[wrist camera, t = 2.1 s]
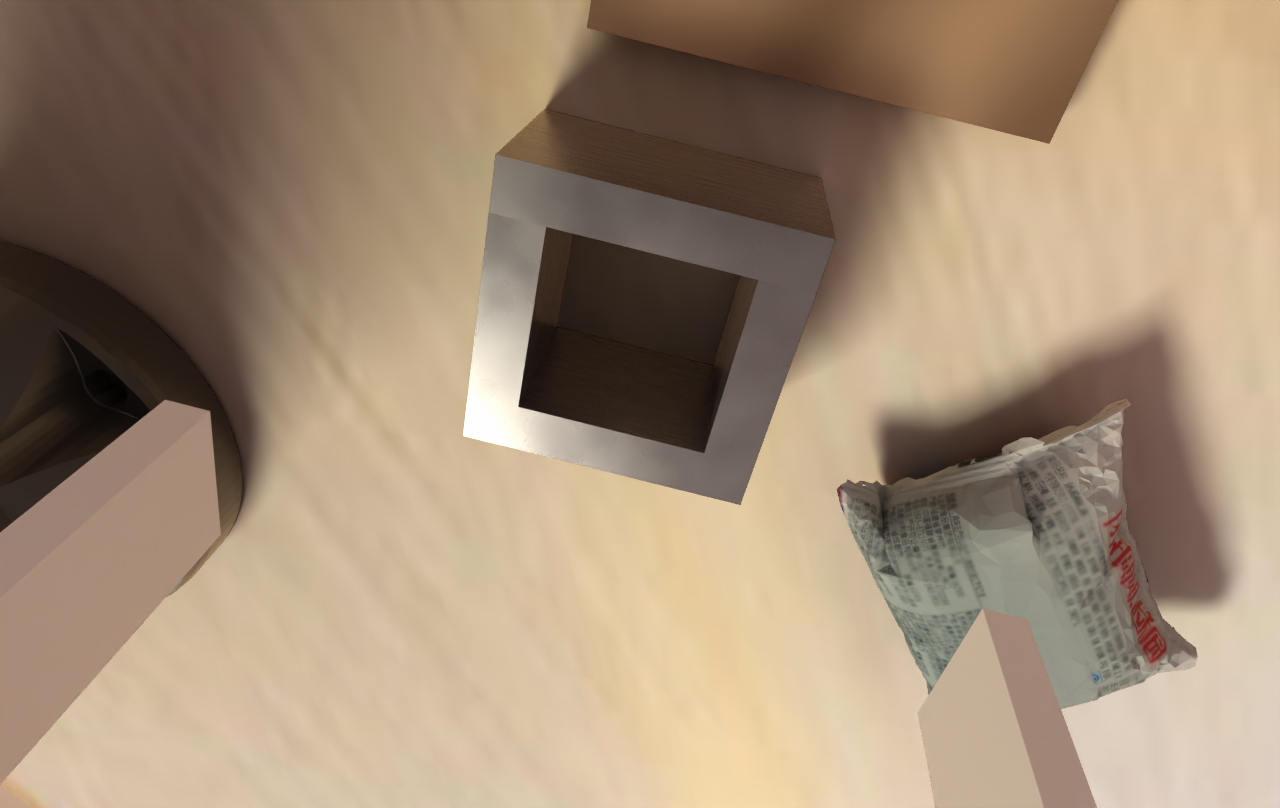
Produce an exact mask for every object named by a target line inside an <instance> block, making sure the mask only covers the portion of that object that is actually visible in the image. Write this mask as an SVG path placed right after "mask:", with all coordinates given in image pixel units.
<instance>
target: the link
mask: <svg viewBox="0 0 1280 808" xmlns="http://www.w3.org/2000/svg"><path fill="white" fill-rule="evenodd" d="M573 234H577V235H581V236H585V237H589V238H593V239H597V240H601V241H605V242H609V243H613V244H617V245H621V246H625V247H629V248H633V249H637V250H641V251H645V252H649V253H653V254H657V255H661V256H665V257H669V258H673V259H677V260H681V261H685V262H689V263H693V264H697V265H701V266H705V267H709V268H713V269H717V270H721V271H725V272H729V273H733V274H737V275H740V279H739V282H738V285H737V289H736V292H735V295H734V299H733V302H732V305H731V309H730V312H729V315H728V319H727V322H726V325H725V329H724V332H723V335H722V339H721V342H720V345H719V349H718V352H717V355H716V359H715V362H714V365H713V366H712V365H708V364H704V363H700V362H696V361H692V360H688V359H684V358H680V357H676V356H672V355H668V354H664V353H660V352H656V351H652V350H648V349H644V348H640V347H636V346H632V345H628V344H624V343H620V342H616V341H612V340H608V339H604V338H600V337H596V336H592V335H588V334H584V333H580V332H576V331H572V330H568V329H563V328H559V327H557V325H558V319H559V314H560V308H561V302H562V296H563V291H564V285H565V279H566V274H567V268H568V262H569V257H570V251H571V245H572V239H573ZM835 240H836V239H835V235H834V230H833V226H832V222H831V217H830V213H829V208H828V204H827V200H826V195H825V191H824V187H823V182H822V178H818V177H814V176H810V175H806V174H802V173H798V172H794V171H790V170H786V169H782V168H778V167H774V166H770V165H766V164H762V163H758V162H754V161H750V160H746V159H742V158H738V157H734V156H730V155H726V154H722V153H718V152H714V151H710V150H706V149H702V148H698V147H694V146H690V145H686V144H682V143H678V142H674V141H670V140H666V139H662V138H658V137H654V136H650V135H646V134H642V133H638V132H634V131H630V130H626V129H622V128H618V127H614V126H610V125H606V124H602V123H598V122H594V121H590V120H586V119H582V118H578V117H574V116H570V115H566V114H562V113H558V112H554V111H550V110H546V109H544V110H543V111H542V112H541V113H540V114H539V115H538V116H537V117H536V118H535V119H533V120H532V121H531V122H530V123H529V124H528V125H527V126H526V127H525V128H524V129H523V130H521V131H520V132H519V133H518V134H517V135H516V136H515V137H514V138H513V139H512V140H511V141H510V142H508V143H507V144H506V145H505V146H504V147H503V148H502V149H501V150H500V151H499V152H498V153H497V154H496V155H495V163H494V172H493V181H492V189H491V198H490V207H489V216H488V224H487V233H486V242H485V250H484V259H483V268H482V277H481V285H480V294H479V303H478V311H477V320H476V329H475V337H474V346H473V355H472V364H471V372H470V381H469V390H468V398H467V407H466V416H465V425H464V433H463V436H466V437H470V438H474V439H478V440H482V441H486V442H490V443H494V444H498V445H502V446H506V447H510V448H514V449H518V450H522V451H526V452H530V453H534V454H538V455H542V456H546V457H550V458H554V459H558V460H562V461H566V462H570V463H574V464H578V465H582V466H586V467H590V468H594V469H598V470H602V471H606V472H610V473H614V474H618V475H622V476H626V477H630V478H634V479H638V480H642V481H646V482H650V483H654V484H659V485H663V486H667V487H671V488H675V489H679V490H683V491H687V492H691V493H695V494H699V495H703V496H707V497H711V498H715V499H719V500H723V501H727V502H731V503H735V504H739V505H741V502H742V499H743V496H744V493H745V491H746V488H747V485H748V482H749V479H750V477H751V474H752V471H753V468H754V465H755V463H756V460H757V457H758V454H759V452H760V449H761V446H762V443H763V440H764V438H765V435H766V432H767V429H768V426H769V424H770V421H771V418H772V415H773V413H774V410H775V407H776V404H777V401H778V399H779V396H780V393H781V390H782V387H783V385H784V382H785V379H786V376H787V373H788V371H789V368H790V365H791V362H792V360H793V357H794V354H795V351H796V348H797V346H798V343H799V340H800V337H801V334H802V332H803V329H804V326H805V323H806V321H807V318H808V315H809V312H810V309H811V307H812V304H813V301H814V298H815V295H816V293H817V290H818V287H819V284H820V282H821V279H822V276H823V273H824V270H825V268H826V265H827V262H828V259H829V256H830V254H831V251H832V248H833V245H834V242H835Z"/></svg>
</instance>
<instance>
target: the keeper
mask: <svg viewBox="0 0 1280 808" xmlns="http://www.w3.org/2000/svg"><path fill="white" fill-rule="evenodd" d="M1117 1H1118V0H591V6H590V12H589V18H588V25H587V28H590V29H594V30H598V31H602V32H606V33H610V34H614V35H618V36H622V37H626V38H630V39H634V40H638V41H642V42H646V43H650V44H654V45H658V46H662V47H666V48H670V49H674V50H678V51H682V52H686V53H690V54H694V55H698V56H702V57H706V58H710V59H714V60H718V61H722V62H725V63H729V64H733V65H737V66H741V67H745V68H749V69H753V70H757V71H761V72H765V73H769V74H773V75H777V76H781V77H785V78H789V79H793V80H797V81H801V82H805V83H809V84H813V85H817V86H821V87H825V88H829V89H833V90H837V91H841V92H845V93H849V94H853V95H857V96H861V97H865V98H869V99H873V100H877V101H881V102H885V103H889V104H893V105H897V106H901V107H905V108H909V109H913V110H917V111H921V112H925V113H929V114H933V115H937V116H941V117H945V118H949V119H953V120H957V121H961V122H965V123H969V124H973V125H977V126H981V127H985V128H989V129H993V130H997V131H1001V132H1005V133H1009V134H1013V135H1017V136H1021V137H1025V138H1029V139H1033V140H1037V141H1041V142H1045V143H1050V141H1051V139H1052V137H1053V135H1054V133H1055V131H1056V129H1057V127H1058V125H1059V122H1060V120H1061V118H1062V116H1063V114H1064V112H1065V110H1066V108H1067V106H1068V103H1069V101H1070V99H1071V97H1072V95H1073V93H1074V91H1075V89H1076V87H1077V85H1078V82H1079V80H1080V78H1081V76H1082V74H1083V72H1084V70H1085V68H1086V66H1087V64H1088V61H1089V59H1090V57H1091V55H1092V53H1093V51H1094V49H1095V47H1096V45H1097V43H1098V40H1099V38H1100V36H1101V34H1102V32H1103V30H1104V28H1105V26H1106V24H1107V22H1108V19H1109V17H1110V15H1111V13H1112V11H1113V9H1114V7H1115V5H1116V3H1117Z"/></svg>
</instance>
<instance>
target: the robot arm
mask: <svg viewBox="0 0 1280 808" xmlns="http://www.w3.org/2000/svg"><path fill="white" fill-rule="evenodd" d="M241 497H242V470H241V463H240V457H239V452H238V449H237V445H236V442H235V438H234V436H233V433H232V430H231V427H230V425H229V423H228V421H227V418H226V416H225V414H224V412H223V410H222V408H221V406H220V404H219V402H218V400H217V399H216V397H215V395H214V394H213V392H212V391H211V389H210V387H209V386H208V384H207V383H206V381H205V380H204V379H203V377H202V376H201V374H200V373H199V372H198V370H197V369H196V368H195V366H194V365H193V364H192V363H191V361H190V360H189V359H188V358H187V357H186V355H185V354H184V353H183V352H182V351H181V350H180V348H179V347H178V346H177V345H176V344H175V343H174V342H173V341H172V340H171V339H170V338H169V337H168V336H167V335H166V334H165V333H164V332H163V331H162V330H161V329H160V328H159V327H158V326H157V325H155V324H154V323H153V322H152V321H151V320H150V319H149V318H147V317H146V316H145V315H144V314H143V313H142V312H140V311H139V310H138V309H137V308H135V307H134V306H133V305H131V304H130V303H129V302H127V301H126V300H125V299H123V298H122V297H120V296H119V295H118V294H116V293H115V292H113V291H112V290H110V289H109V288H107V287H106V286H104V285H102V284H101V283H99V282H97V281H96V280H94V279H93V278H91V277H89V276H87V275H85V274H83V273H82V272H80V271H78V270H76V269H74V268H72V267H70V266H68V265H66V264H64V263H61V262H59V261H57V260H54V259H52V258H50V257H47V256H45V255H42V254H39V253H37V252H34V251H31V250H28V249H25V248H21V247H18V246H14V245H11V244H6V243H2V242H0V784H1V783H2V782H3V781H4V780H5V779H6V778H7V776H8V775H9V774H10V773H11V772H12V771H13V770H14V769H15V767H16V766H17V765H18V764H19V763H20V762H21V761H22V759H23V758H24V757H25V756H26V755H27V754H28V753H29V752H30V750H31V749H32V748H33V747H34V746H35V745H36V744H37V742H38V741H39V740H40V739H41V738H42V737H43V736H44V735H45V733H46V732H47V731H48V730H49V729H50V728H51V727H52V725H53V724H54V723H55V722H56V721H57V720H58V719H59V718H60V716H61V715H62V714H63V713H64V712H65V711H66V710H67V708H68V707H69V706H70V705H71V704H72V703H73V702H74V701H75V699H76V698H77V697H78V696H79V695H80V694H81V693H82V691H83V690H84V689H85V688H86V687H87V686H88V685H89V684H90V682H91V681H92V680H93V679H94V678H95V677H96V676H97V674H98V673H99V672H100V671H101V670H102V669H103V668H104V667H105V665H106V664H107V663H108V662H109V661H110V660H111V659H112V657H113V656H114V655H115V654H116V653H117V652H118V651H119V650H120V648H121V647H122V646H123V645H124V644H125V643H126V642H127V640H128V639H129V638H130V637H131V636H132V635H133V634H134V633H135V631H136V630H137V629H138V628H139V627H140V626H141V625H142V623H143V622H144V621H145V620H146V619H147V618H148V617H149V616H150V614H151V613H152V612H153V611H154V610H155V609H156V608H157V606H158V605H159V604H160V603H161V602H162V601H163V600H164V599H165V598H166V597H168V596H169V595H171V594H172V593H174V592H175V591H177V590H178V589H179V588H180V587H181V586H183V585H184V584H185V583H186V582H187V581H189V580H190V579H191V578H192V577H193V576H194V575H195V573H196V572H197V571H198V570H199V569H200V568H201V567H202V565H203V564H204V563H205V562H206V561H207V560H208V558H209V557H210V556H211V555H212V554H213V553H214V551H215V550H216V549H217V548H218V547H219V546H220V544H221V543H222V542H223V541H224V539H225V538H226V537H227V535H228V534H229V532H230V530H231V529H232V527H233V525H234V522H235V520H236V518H237V515H238V511H239V508H240V503H241ZM918 717H919V722H920V728H921V733H922V738H923V744H924V749H925V754H926V760H927V765H928V771H929V776H930V781H931V787H932V792H933V797H934V803H935V808H1097V806H1096V804H1095V801H1094V798H1093V796H1092V793H1091V790H1090V787H1089V785H1088V782H1087V779H1086V776H1085V774H1084V771H1083V768H1082V766H1081V763H1080V760H1079V757H1078V755H1077V752H1076V749H1075V746H1074V744H1073V741H1072V738H1071V736H1070V733H1069V730H1068V727H1067V725H1066V722H1065V719H1064V716H1063V714H1062V711H1061V708H1060V706H1059V703H1058V700H1057V697H1056V695H1055V692H1054V689H1053V686H1052V684H1051V681H1050V678H1049V676H1048V673H1047V670H1046V667H1045V665H1044V662H1043V659H1042V657H1041V654H1040V651H1039V648H1038V646H1037V643H1036V640H1035V637H1034V635H1033V632H1032V629H1031V627H1030V624H1029V621H1028V620H1027V619H1023V618H1019V617H1015V616H1011V615H1007V614H1003V613H999V612H996V611H992V610H988V609H984V608H983V609H982V610H981V612H980V613H979V615H978V617H977V618H976V620H975V621H974V623H973V625H972V626H971V628H970V630H969V631H968V633H967V634H966V636H965V638H964V639H963V641H962V642H961V644H960V646H959V647H958V649H957V650H956V652H955V654H954V655H953V657H952V659H951V660H950V662H949V663H948V665H947V667H946V668H945V670H944V671H943V673H942V675H941V676H940V678H939V680H938V681H937V683H936V684H935V686H934V688H933V689H932V691H931V692H930V694H929V696H928V697H927V699H926V700H925V702H924V704H923V705H922V707H921V709H920V710H919V712H918Z"/></svg>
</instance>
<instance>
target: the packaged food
mask: <svg viewBox="0 0 1280 808" xmlns="http://www.w3.org/2000/svg"><path fill="white" fill-rule="evenodd" d="M1129 406H1131V404H1130V402H1129V401H1128V400H1127V399H1123V400H1119V401H1116V402H1113V403H1111V404H1108V405H1107V406H1106V407H1105V408H1104V409H1103V410H1102V411H1101V412H1099V413H1098V414H1097V415H1095V416H1094V417H1093V418H1092V419H1090V420H1089V421H1087V422H1085V423H1084V424H1082V425H1080V426H1070V425H1068V426H1066V427H1064V428H1061V429H1059V430H1056V431H1054V432H1052V433H1050V434H1048V435H1046V436H1044V437H1042V438H1039V439H1035V438H1032V437H1027V438H1021V439H1019V440H1016V441H1014V442H1012V443H1010V444H1008V445H1006V446H1004V447H1003V448H1002V453H1000V454H997V455H993V456H990V457H985V458H983V459H981V460H978V459H976V458H974V459H970V460H966V461H962V462H959V463H958V464H956V465H954V466H950V467H947V468H946V469H944V470H941V471H939V472H937V473H934V474H932V475H929V476H927V477H925V478H921V479H916V480H915V479H913V478H910V477H906V478H903V479H900V480H899V481H897V482H896V483H895V484H892V485H881V484H880V483H879V482H878V481H876V482H875V483H873V484H872V483H868V482H865V481H859V482H858V483H856V484H854V483H853V482H851V481H850V480H847V482H846V483H844V484H842V485H840V486H839V488H838V489H837V492H838V496H839V500H840V504H841V507H842V510H843V512H844V515H845V517H846V519H847V522H848V525H849V527H850V529H851V531H852V533H853V536H854V538H855V540H856V542H857V544H858V547H859V549H860V550H861V552H862V554H863V556H864V557H865V559H866V561H867V564H868V566H869V568H870V570H871V573H872V575H873V577H874V579H875V582H876V584H877V586H878V588H879V589H880V591H881V593H882V594H883V596H884V598H885V600H886V602H887V604H888V606H889V608H890V610H891V612H892V614H893V616H894V618H895V620H896V621H897V623H898V625H899V627H900V628H901V630H902V631H903V632H904V636H905V640H906V642H907V645H908V647H909V650H910V652H911V653H912V655H913V657H914V659H915V662H916V664H917V666H918V667H919V669H920V670H921V671H922V674H923V676H924V678H925V679H926V681H927V688H928V694H930V692H931V691H932V689H933V688H934V686H935V684H936V683H937V681H938V680H939V678H940V676H941V675H942V673H943V671H944V670H945V668H946V667H947V665H948V663H949V662H950V660H951V659H952V657H953V655H954V654H955V652H956V650H957V649H958V647H959V646H960V644H961V642H962V641H963V639H964V638H965V636H966V634H967V633H968V631H969V630H970V628H971V626H972V625H973V623H974V621H975V620H976V618H977V617H978V615H979V613H980V612H981V610H982V609H983V608H984V609H988V610H992V611H996V612H999V613H1003V614H1007V615H1011V616H1015V617H1019V618H1023V619H1027V620H1028V621H1029V624H1030V627H1031V629H1032V632H1033V635H1034V637H1035V640H1036V643H1037V646H1038V648H1039V651H1040V654H1041V657H1042V659H1043V662H1044V665H1045V667H1046V670H1047V673H1048V676H1049V678H1050V681H1051V684H1052V686H1053V689H1054V692H1055V695H1056V697H1057V700H1058V703H1059V706H1060V708H1061V709H1063V708H1067V707H1071V706H1075V705H1078V704H1082V703H1086V702H1090V701H1094V700H1097V699H1098V698H1099V697H1102V696H1105V695H1107V694H1110V693H1112V692H1115V691H1118V690H1121V689H1124V688H1127V687H1130V686H1133V685H1136V684H1139V683H1142V682H1144V681H1145V680H1146V679H1147V678H1149V677H1151V676H1153V675H1155V674H1156V673H1160V672H1169V671H1180V670H1187V669H1190V668H1192V667H1193V666H1195V665H1196V661H1197V652H1196V647H1194V646H1193V645H1192V644H1190V643H1189V642H1187V641H1186V640H1185V639H1184V638H1183V637H1182V636H1181V635H1180V634H1178V633H1177V632H1176V630H1175V629H1174V627H1171V625H1170V624H1168V623H1167V622H1166V621H1165V620H1164V619H1163V618H1162V616H1161V614H1160V612H1159V610H1158V607H1157V604H1156V602H1155V600H1154V598H1153V597H1152V595H1151V593H1150V586H1149V582H1148V579H1147V576H1146V572H1145V570H1144V568H1143V564H1142V561H1141V558H1140V556H1139V553H1138V551H1137V550H1136V541H1135V540H1134V538H1133V537H1132V536H1131V534H1130V533H1129V529H1128V522H1127V521H1126V511H1127V508H1128V506H1127V503H1126V500H1127V499H1126V496H1125V491H1124V489H1123V460H1122V445H1123V439H1122V435H1121V432H1122V427H1123V421H1124V410H1125V409H1126V408H1127V407H1129ZM863 484H865V485H866V486H862V485H863Z"/></svg>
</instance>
